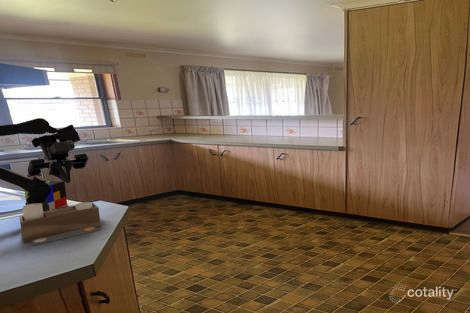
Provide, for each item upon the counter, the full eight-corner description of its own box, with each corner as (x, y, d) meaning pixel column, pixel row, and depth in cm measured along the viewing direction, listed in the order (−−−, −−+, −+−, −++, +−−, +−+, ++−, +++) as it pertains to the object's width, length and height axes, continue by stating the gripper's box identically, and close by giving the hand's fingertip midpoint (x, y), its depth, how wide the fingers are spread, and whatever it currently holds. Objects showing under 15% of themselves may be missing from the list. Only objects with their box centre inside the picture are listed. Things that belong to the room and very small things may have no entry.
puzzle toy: (48, 211, 123) (45, 186, 121) (27, 211, 125) (24, 186, 123) (67, 204, 132) (64, 181, 131) (47, 204, 134) (44, 181, 133)
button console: (21, 234, 97) (19, 216, 96) (94, 219, 109) (92, 202, 109) (23, 243, 90) (20, 223, 89) (100, 225, 102) (98, 207, 101)
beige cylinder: (76, 222, 104) (73, 204, 103) (92, 218, 107) (90, 201, 106) (79, 226, 100) (76, 207, 99) (95, 222, 103) (93, 204, 102)
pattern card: (31, 241, 91) (31, 239, 91) (94, 227, 101) (94, 225, 101) (33, 245, 87) (32, 243, 87) (97, 230, 97) (97, 228, 97)
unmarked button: (24, 225, 96) (22, 205, 95) (43, 221, 99) (41, 202, 98) (25, 229, 92) (22, 208, 91) (45, 225, 95) (42, 205, 94)
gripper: (26, 135, 102) (44, 171, 96) (83, 131, 116) (101, 162, 111) (20, 158, 108) (37, 193, 102) (75, 152, 122) (92, 182, 117)
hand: (69, 182), depth 108 cm, fingers closed
